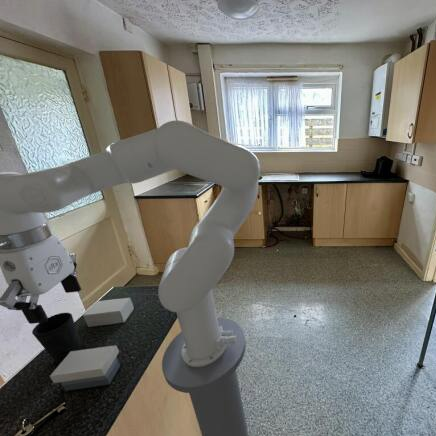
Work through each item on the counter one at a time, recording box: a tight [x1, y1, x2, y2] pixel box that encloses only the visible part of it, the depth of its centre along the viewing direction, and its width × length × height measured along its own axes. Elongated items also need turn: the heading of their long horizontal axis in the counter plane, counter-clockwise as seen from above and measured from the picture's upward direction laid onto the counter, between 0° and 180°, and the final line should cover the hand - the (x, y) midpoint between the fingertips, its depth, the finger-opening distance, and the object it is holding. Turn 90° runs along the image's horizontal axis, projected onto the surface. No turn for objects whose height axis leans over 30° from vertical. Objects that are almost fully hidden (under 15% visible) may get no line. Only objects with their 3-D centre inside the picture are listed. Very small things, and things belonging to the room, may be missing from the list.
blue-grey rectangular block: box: [61, 360, 121, 392], centre depth 60 cm, size 10×5×2 cm, turn 97°
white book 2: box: [85, 303, 135, 328], centre depth 79 cm, size 11×6×2 cm, turn 97°
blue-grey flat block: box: [59, 356, 119, 386], centre depth 59 cm, size 10×5×2 cm, turn 97°
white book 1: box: [82, 297, 133, 322], centre depth 78 cm, size 11×6×2 cm, turn 97°
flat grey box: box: [49, 345, 120, 384], centre depth 58 cm, size 11×6×2 cm, turn 97°
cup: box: [31, 312, 84, 366], centre depth 64 cm, size 8×8×12 cm
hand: (58, 305), depth 53 cm, fingers open, 9 cm apart
